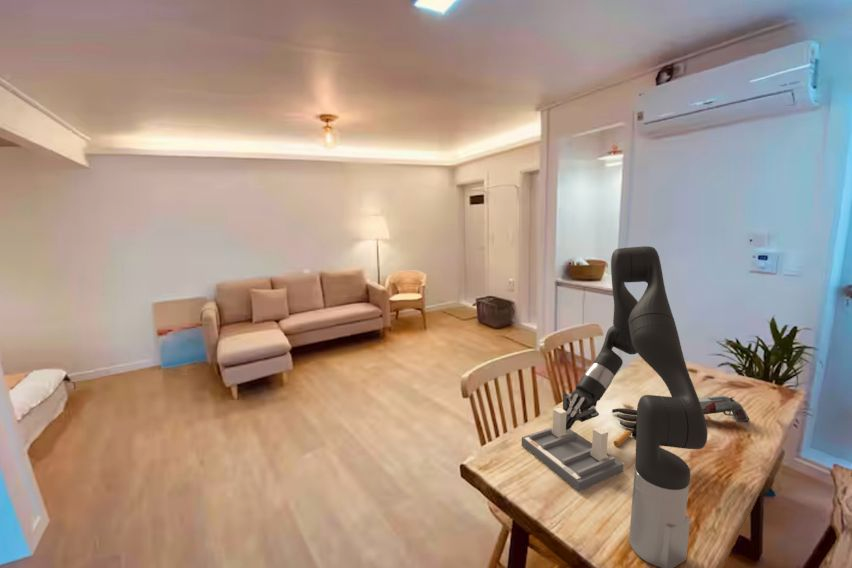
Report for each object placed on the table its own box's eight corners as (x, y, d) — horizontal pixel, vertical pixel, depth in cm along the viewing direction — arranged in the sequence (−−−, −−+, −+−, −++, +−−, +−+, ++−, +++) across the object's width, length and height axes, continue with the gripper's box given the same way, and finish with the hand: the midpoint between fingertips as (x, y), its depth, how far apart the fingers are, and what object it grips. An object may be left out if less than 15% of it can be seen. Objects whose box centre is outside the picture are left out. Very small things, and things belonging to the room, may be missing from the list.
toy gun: (678, 423, 131) (675, 396, 129) (743, 417, 127) (740, 389, 125) (684, 430, 126) (681, 402, 125) (752, 424, 123) (749, 395, 121)
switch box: (622, 472, 102) (623, 459, 101) (578, 491, 95) (579, 478, 95) (561, 431, 122) (562, 420, 121) (521, 444, 115) (521, 433, 114)
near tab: (607, 459, 103) (609, 432, 101) (601, 462, 102) (602, 435, 100) (596, 452, 106) (598, 426, 104) (590, 455, 105) (591, 428, 103)
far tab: (566, 436, 114) (567, 412, 112) (560, 439, 113) (561, 414, 111) (557, 430, 117) (558, 406, 115) (551, 433, 116) (552, 408, 114)
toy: (676, 472, 103) (698, 424, 123) (677, 460, 102) (699, 414, 123) (590, 439, 118) (623, 402, 139) (590, 429, 118) (623, 393, 139)
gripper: (573, 367, 122) (542, 411, 119) (608, 383, 110) (574, 432, 107) (584, 379, 125) (554, 423, 122) (619, 396, 113) (587, 444, 111)
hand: (563, 427), depth 115 cm, fingers closed
